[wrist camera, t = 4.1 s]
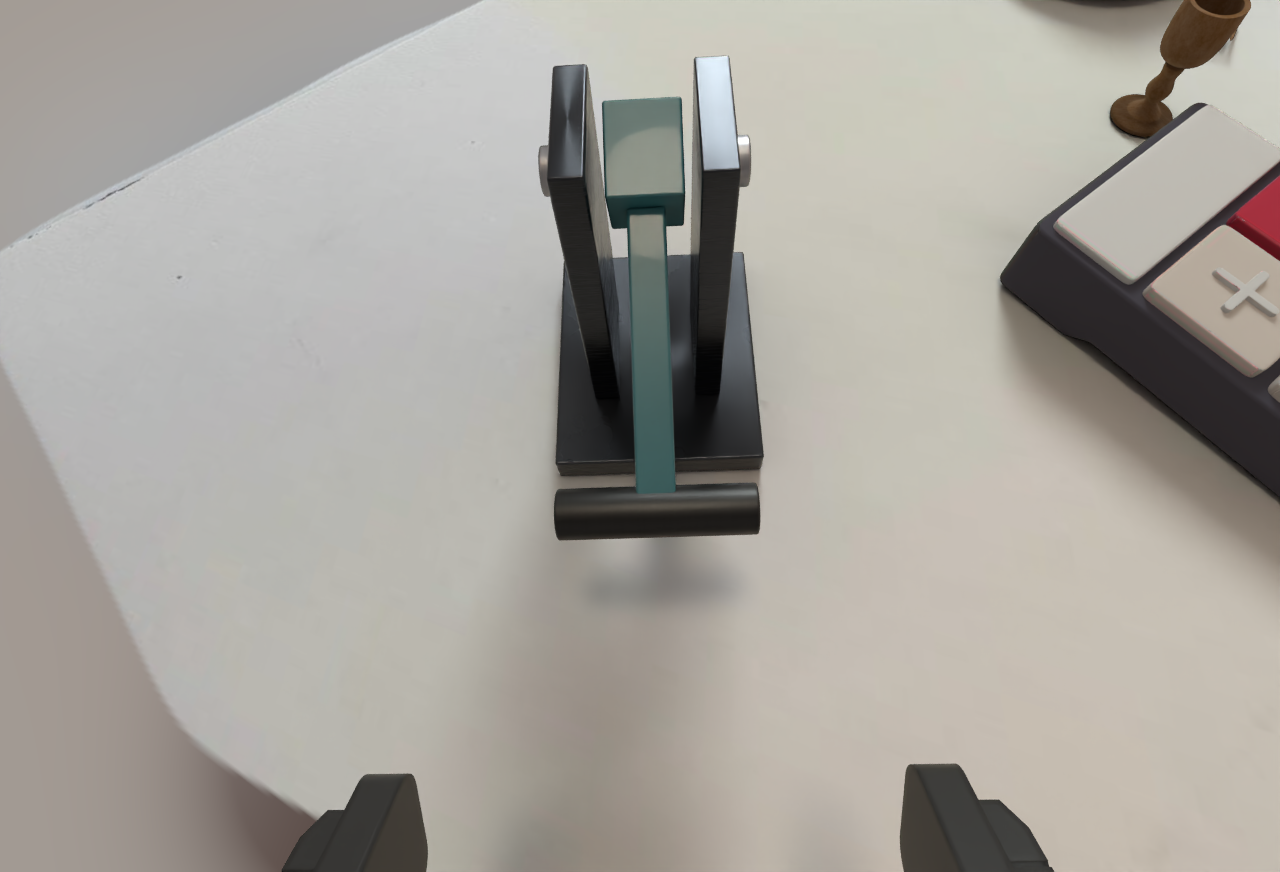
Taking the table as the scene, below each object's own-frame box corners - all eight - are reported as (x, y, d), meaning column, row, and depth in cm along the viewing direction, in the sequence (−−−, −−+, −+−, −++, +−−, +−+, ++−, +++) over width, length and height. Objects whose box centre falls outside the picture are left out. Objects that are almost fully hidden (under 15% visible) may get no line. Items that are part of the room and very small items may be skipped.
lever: (753, 531, 21) (764, 537, 19) (564, 537, 21) (551, 543, 19) (735, 134, 22) (743, 91, 20) (554, 144, 22) (540, 103, 20)
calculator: (1422, 502, 23) (1041, 211, 28) (1308, 539, 27) (993, 279, 32) (1589, 317, 25) (1213, 82, 30) (1462, 376, 29) (1149, 159, 34)
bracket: (761, 469, 28) (814, 253, 17) (559, 476, 29) (478, 269, 17) (741, 268, 33) (773, -11, 21) (567, 276, 33) (506, 5, 22)
